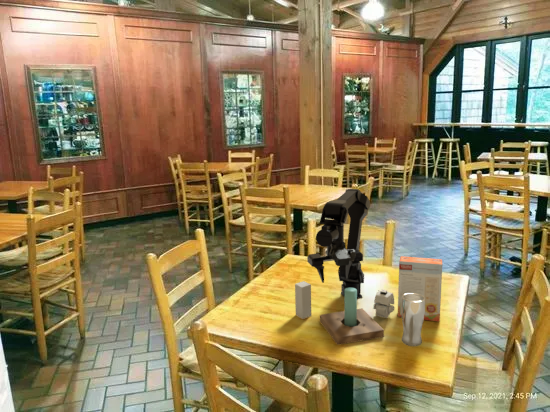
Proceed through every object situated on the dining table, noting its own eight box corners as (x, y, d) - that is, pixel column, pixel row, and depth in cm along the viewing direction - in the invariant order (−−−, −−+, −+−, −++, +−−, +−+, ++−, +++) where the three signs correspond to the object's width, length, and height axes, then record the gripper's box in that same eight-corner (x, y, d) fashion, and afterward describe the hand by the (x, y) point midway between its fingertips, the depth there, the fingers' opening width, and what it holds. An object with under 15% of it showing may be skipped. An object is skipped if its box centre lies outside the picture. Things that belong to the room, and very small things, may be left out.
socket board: (362, 314, 156) (362, 308, 155) (383, 336, 140) (383, 329, 140) (319, 321, 152) (319, 314, 151) (337, 344, 137) (337, 337, 136)
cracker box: (439, 314, 154) (442, 258, 149) (439, 322, 148) (443, 264, 144) (398, 309, 159) (400, 255, 154) (397, 317, 153) (399, 260, 148)
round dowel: (353, 325, 149) (353, 286, 145) (358, 330, 145) (359, 291, 142) (342, 326, 148) (342, 288, 145) (347, 332, 144) (347, 293, 141)
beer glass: (396, 336, 141) (398, 293, 137) (417, 334, 141) (419, 291, 138) (405, 348, 134) (406, 302, 130) (427, 346, 134) (429, 301, 131)
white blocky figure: (394, 315, 155) (395, 288, 152) (388, 323, 149) (389, 295, 147) (378, 311, 158) (378, 285, 156) (371, 319, 152) (372, 292, 150)
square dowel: (304, 311, 159) (303, 281, 157) (311, 315, 156) (310, 284, 153) (295, 314, 157) (295, 283, 154) (302, 319, 154) (301, 287, 151)
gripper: (317, 248, 140) (317, 293, 144) (370, 242, 144) (369, 286, 148) (306, 238, 151) (307, 280, 154) (356, 233, 155) (356, 274, 159)
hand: (335, 280), depth 153 cm, fingers open, 9 cm apart
